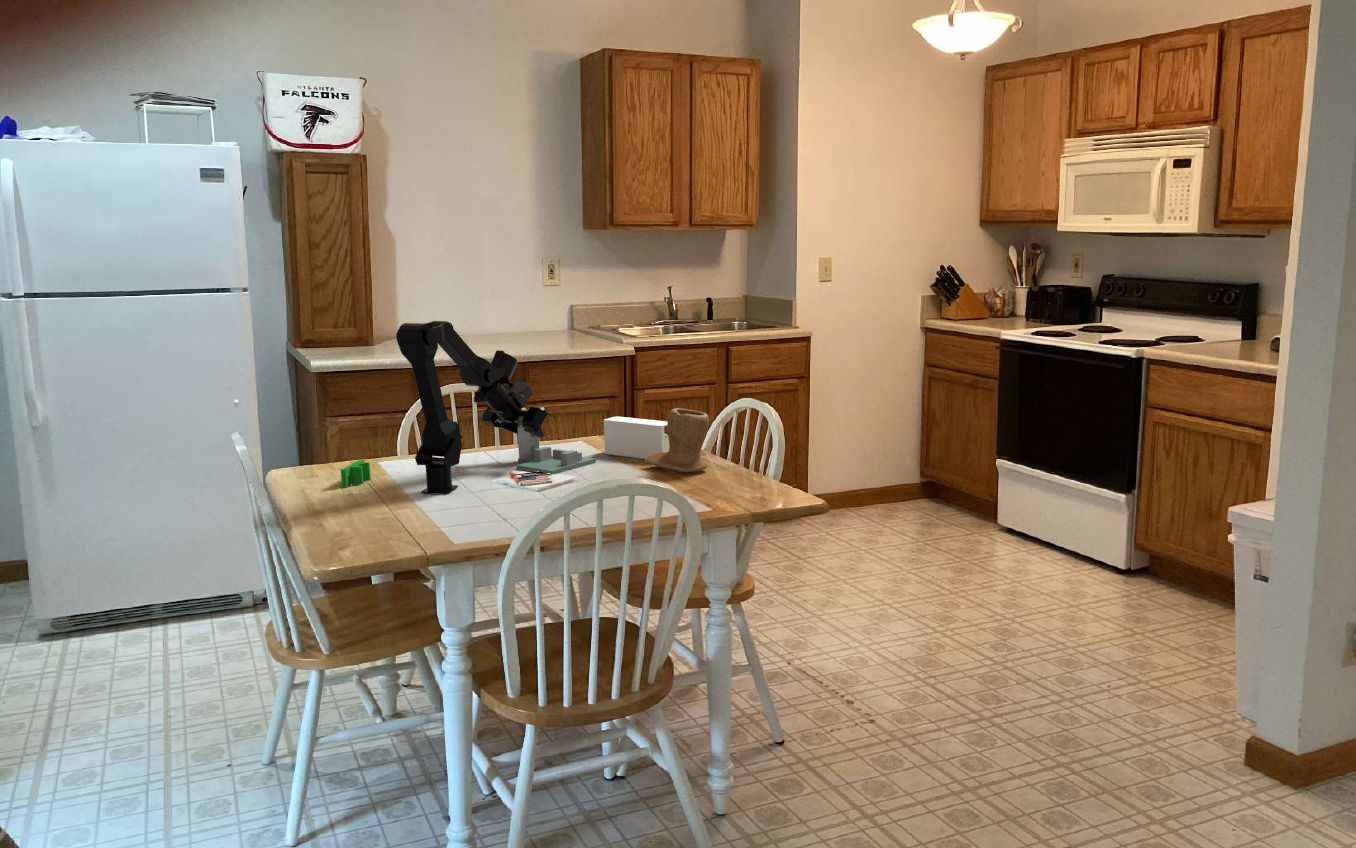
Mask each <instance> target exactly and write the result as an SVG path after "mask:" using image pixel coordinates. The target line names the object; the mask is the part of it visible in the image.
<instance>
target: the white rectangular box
mask: <svg viewBox="0 0 1356 848" xmlns="http://www.w3.org/2000/svg"><path fill="white" fill-rule="evenodd" d="M665 427H667V421H666V420H658V419H657V420H656V419H645V418H636V417H635V418H634V417H628V416H627V417H625V416H612V417H608V418H605V419H603V440H604V441H603V442H604V455H611V456H616V457H617V456H618V457H625V458H633V459H638V460H639V459H641V460H645V458H646V457H647V456H649V455H651V454H653V453H657V452H668V451H669V438H668V434H665Z"/></svg>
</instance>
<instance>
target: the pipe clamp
mask: <svg viewBox="0 0 1356 848" xmlns="http://www.w3.org/2000/svg"><path fill="white" fill-rule="evenodd" d="M370 464H371V463H370V461H369V462H365V459H358V460H357V461H355V462H352V463H351V464H349V465H346V466H345V467H343V468H342V469H340V478H341V488H342V489H347V488H350V485H351V484H358V485H357V486H360V485H359V484H363V485H364V482H366V481H365V480H368V481H367V482H369V480H370V481H371V480H372V477H371V465H370ZM351 486H352V485H351Z"/></svg>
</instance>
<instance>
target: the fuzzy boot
mask: <svg viewBox="0 0 1356 848" xmlns="http://www.w3.org/2000/svg"><path fill="white" fill-rule="evenodd" d="M666 422H667V426H666V429H667V435H668V452H657V453H653V454H651V455H649V456H647V457H646V458H645V459H643V461H644V462H645V463H647V464H650V465H651V466H652V465H653V466H656V467H659V468H661V469H667V470H669V471H670V470H671V471H674V472H681V473H695V472H701V471H703V470H705V469H707V468H708V463H706V462H705V461H704V460H703V459H702V458H701V451H702V447H703V445H704V442H705V440H706V437H707V434H708V431H709V427H710V417H709V414H708V413H706V412H702V411H698V410H692V409H686V408H676V407H675V408H673V409H671V410H670V412H669V413H668V417H667V421H666Z"/></svg>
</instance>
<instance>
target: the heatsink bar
mask: <svg viewBox="0 0 1356 848" xmlns="http://www.w3.org/2000/svg"><path fill="white" fill-rule="evenodd" d="M525 410H526V411H528V410H529V409H525ZM517 428H518V434H517V446H518V458H517V463H518V462H519V463H522V464H523V463H526V462H530V461H534V460H535V449H537V448H540V438H539V437H537V436H535V435H532V434H530V433H528V432H525V431H524V428H523V426H522V420H521V419H518V420H517Z"/></svg>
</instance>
